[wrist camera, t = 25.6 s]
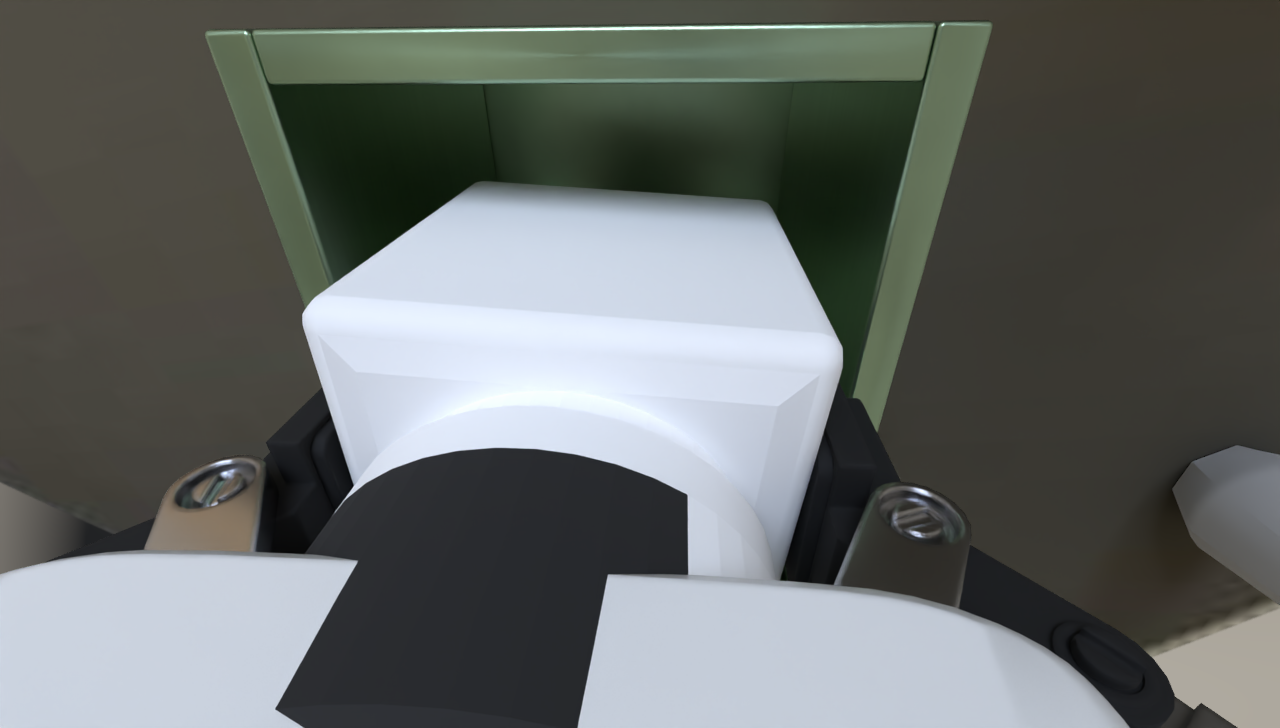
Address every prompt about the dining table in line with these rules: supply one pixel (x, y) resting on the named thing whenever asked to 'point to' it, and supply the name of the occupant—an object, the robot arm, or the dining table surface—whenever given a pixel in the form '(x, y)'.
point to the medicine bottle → (551, 439)
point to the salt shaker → (1236, 512)
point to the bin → (622, 138)
